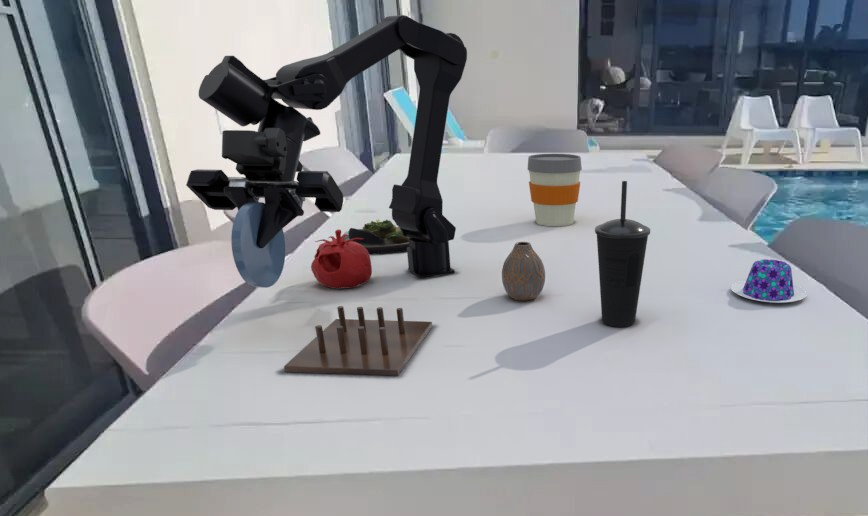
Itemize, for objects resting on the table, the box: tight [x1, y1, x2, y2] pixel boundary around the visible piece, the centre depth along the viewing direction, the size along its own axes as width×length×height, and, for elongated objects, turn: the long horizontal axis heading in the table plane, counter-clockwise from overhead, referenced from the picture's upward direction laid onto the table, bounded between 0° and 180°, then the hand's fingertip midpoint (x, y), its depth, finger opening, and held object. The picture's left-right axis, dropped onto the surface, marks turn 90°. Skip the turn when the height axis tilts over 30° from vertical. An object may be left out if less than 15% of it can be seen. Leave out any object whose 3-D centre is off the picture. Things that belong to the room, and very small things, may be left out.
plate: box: [230, 201, 286, 289], centre depth 83 cm, size 11×1×11 cm, turn 176°
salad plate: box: [343, 219, 410, 255], centre depth 134 cm, size 19×18×5 cm
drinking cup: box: [594, 180, 651, 328], centre depth 89 cm, size 8×8×20 cm
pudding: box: [730, 259, 808, 304], centre depth 104 cm, size 12×12×5 cm
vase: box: [501, 241, 546, 302], centre depth 101 cm, size 7×7×9 cm
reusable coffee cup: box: [527, 153, 582, 227], centre depth 150 cm, size 13×12×15 cm
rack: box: [283, 305, 433, 376], centre depth 83 cm, size 16×14×4 cm
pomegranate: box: [310, 229, 373, 289], centre depth 107 cm, size 10×10×9 cm
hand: (253, 246), depth 82 cm, fingers closed on plate, 1 cm apart
